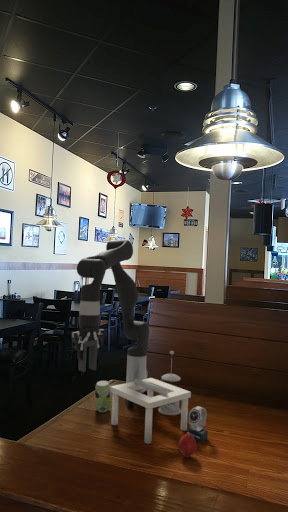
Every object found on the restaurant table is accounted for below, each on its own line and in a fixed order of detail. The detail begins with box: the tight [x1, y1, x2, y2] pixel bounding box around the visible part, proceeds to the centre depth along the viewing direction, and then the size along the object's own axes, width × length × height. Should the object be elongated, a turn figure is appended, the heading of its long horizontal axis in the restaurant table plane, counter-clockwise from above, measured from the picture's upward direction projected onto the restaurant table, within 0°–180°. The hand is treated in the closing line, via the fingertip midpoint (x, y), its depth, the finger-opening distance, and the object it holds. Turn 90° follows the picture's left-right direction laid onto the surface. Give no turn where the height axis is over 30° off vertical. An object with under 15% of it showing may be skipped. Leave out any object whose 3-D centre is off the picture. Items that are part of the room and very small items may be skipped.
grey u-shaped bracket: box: [77, 340, 98, 373], centre depth 148 cm, size 6×4×11 cm, turn 131°
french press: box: [156, 350, 181, 416], centre depth 169 cm, size 10×12×25 cm
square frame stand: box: [110, 377, 192, 445], centre depth 151 cm, size 21×22×16 cm
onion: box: [178, 431, 198, 458], centre depth 128 cm, size 6×6×8 cm
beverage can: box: [94, 380, 111, 413], centre depth 165 cm, size 6×7×12 cm
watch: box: [187, 405, 209, 444], centre depth 142 cm, size 6×8×11 cm
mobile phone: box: [124, 398, 135, 409], centre depth 176 cm, size 5×3×15 cm
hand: (87, 358), depth 148 cm, fingers closed on grey u-shaped bracket, 5 cm apart
